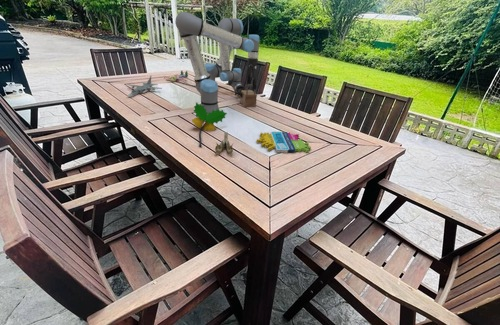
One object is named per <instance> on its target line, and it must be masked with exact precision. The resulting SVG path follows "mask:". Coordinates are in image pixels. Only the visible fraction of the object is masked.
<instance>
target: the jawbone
mask: <svg viewBox="0 0 500 325" xmlns="http://www.w3.org/2000/svg"><path fill="white" fill-rule="evenodd" d="M223 135H224V136H223V140H222V139H221V142H220V144H218V142H215V144H216V146H215V148H214V149H215V152H214V154H215V155H217V156H218V155H220V153H221V152H223V151H224V150H226V152H227V153H228V155H229V156H233V155H234V154H233V153H234V148H233V144H234V143H230V140H228V139H229V138H228V137H229V136H228V135H229V133H228V131H226V132H224V134H223Z"/></svg>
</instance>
